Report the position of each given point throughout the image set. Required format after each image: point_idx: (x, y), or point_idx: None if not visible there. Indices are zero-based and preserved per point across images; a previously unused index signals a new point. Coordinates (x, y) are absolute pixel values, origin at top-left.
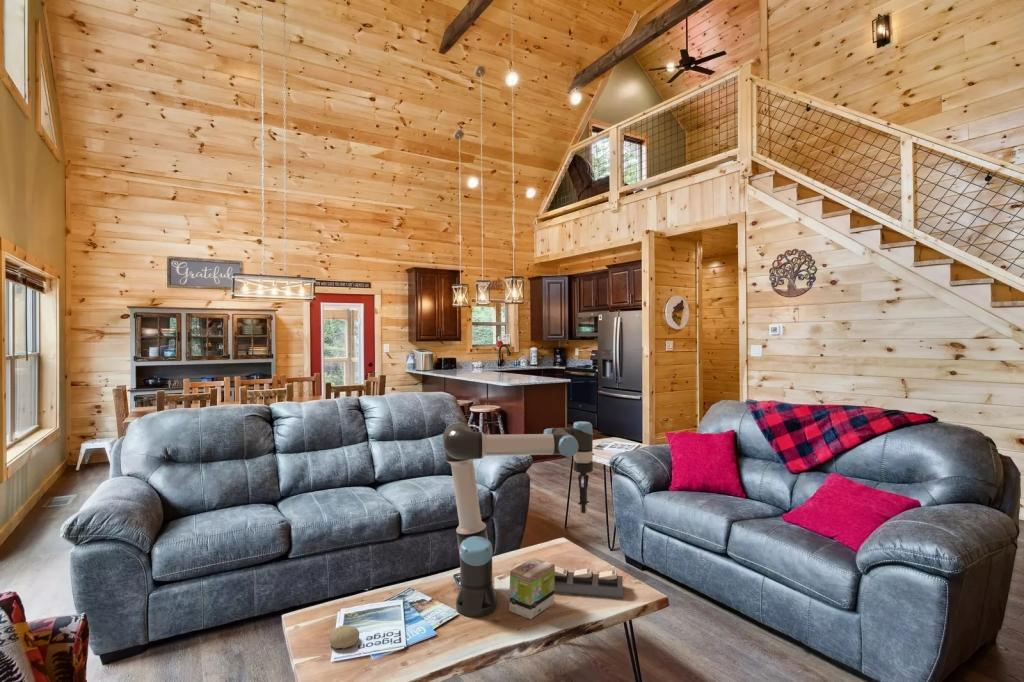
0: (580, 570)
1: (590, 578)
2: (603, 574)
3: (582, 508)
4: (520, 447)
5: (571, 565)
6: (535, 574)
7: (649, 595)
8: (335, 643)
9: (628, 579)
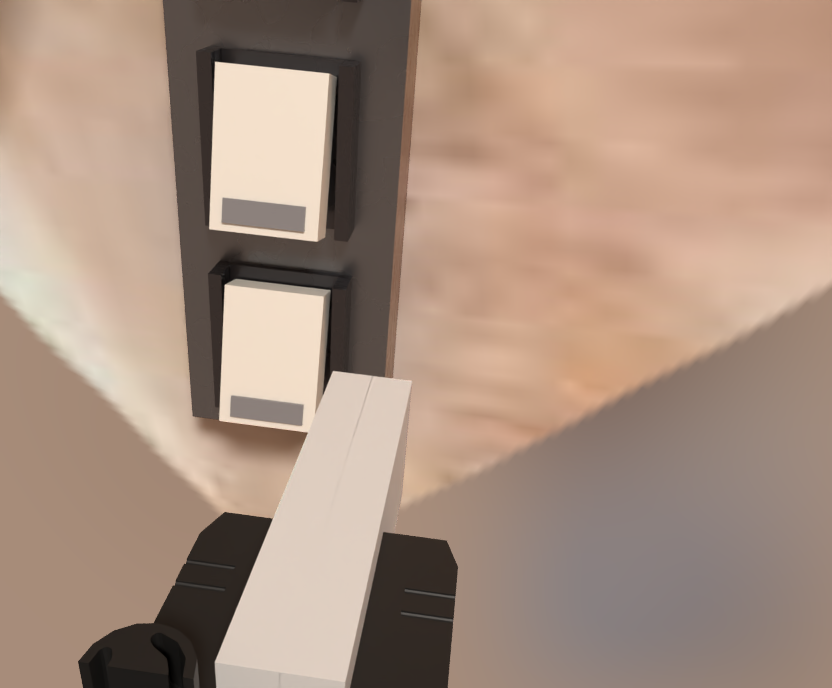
0: (302, 135)
1: None
2: (266, 327)
3: (166, 623)
4: None
5: (791, 23)
6: None
7: None
8: None
9: (501, 447)
